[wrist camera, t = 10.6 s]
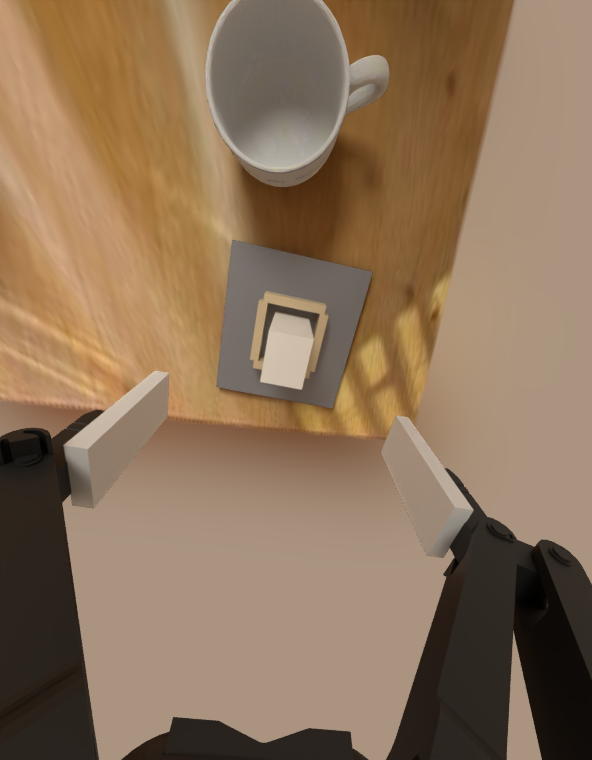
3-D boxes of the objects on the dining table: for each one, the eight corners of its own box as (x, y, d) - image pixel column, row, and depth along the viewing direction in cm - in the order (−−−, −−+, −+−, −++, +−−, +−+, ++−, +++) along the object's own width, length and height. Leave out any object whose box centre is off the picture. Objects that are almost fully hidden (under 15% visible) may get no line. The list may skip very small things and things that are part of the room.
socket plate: (234, 240, 31) (228, 238, 29) (370, 271, 33) (377, 272, 30) (218, 384, 38) (212, 393, 36) (331, 405, 40) (334, 415, 37)
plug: (275, 310, 34) (269, 330, 24) (308, 317, 34) (313, 339, 25) (268, 350, 35) (259, 381, 26) (299, 356, 36) (301, 389, 27)
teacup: (230, 192, 30) (209, 169, 22) (223, 50, 25) (195, -35, 18) (361, 197, 30) (383, 177, 23) (376, 58, 26) (409, -22, 18)
